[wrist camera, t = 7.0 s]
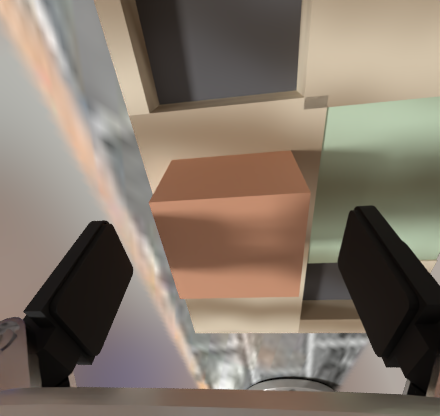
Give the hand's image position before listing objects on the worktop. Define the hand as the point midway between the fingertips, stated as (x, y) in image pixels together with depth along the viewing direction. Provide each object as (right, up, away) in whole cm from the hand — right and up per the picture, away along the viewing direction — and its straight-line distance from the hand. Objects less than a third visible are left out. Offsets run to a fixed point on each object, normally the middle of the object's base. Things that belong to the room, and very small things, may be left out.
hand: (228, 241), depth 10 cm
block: (+1, +1, +4) cm, 4 cm away
